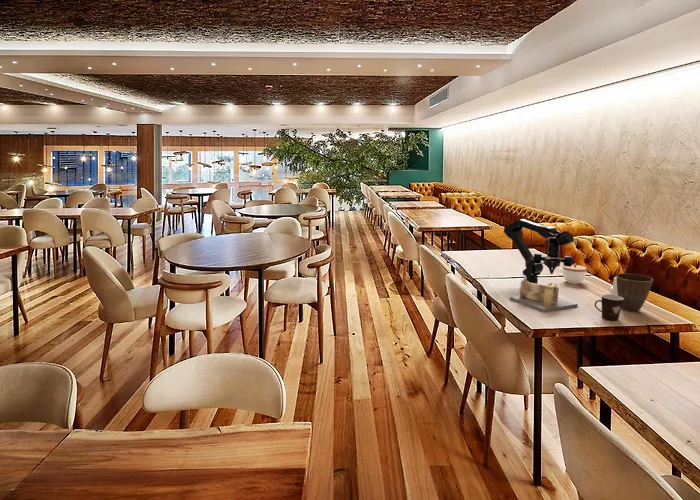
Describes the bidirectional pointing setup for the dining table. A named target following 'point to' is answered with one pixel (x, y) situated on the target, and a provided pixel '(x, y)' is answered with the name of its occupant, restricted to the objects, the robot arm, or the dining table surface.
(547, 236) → the robot arm
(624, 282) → the plant pot
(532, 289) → the ash link
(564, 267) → the lidded bowl
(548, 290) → the brass keeper
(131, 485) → the dining table surface
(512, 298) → the slate board
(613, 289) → the cream cylindrical piece
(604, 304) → the coffee mug
